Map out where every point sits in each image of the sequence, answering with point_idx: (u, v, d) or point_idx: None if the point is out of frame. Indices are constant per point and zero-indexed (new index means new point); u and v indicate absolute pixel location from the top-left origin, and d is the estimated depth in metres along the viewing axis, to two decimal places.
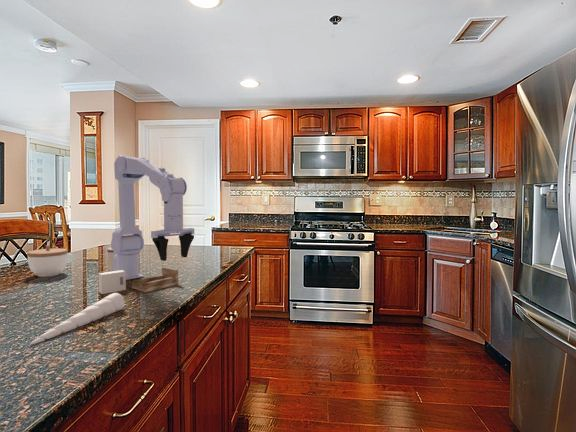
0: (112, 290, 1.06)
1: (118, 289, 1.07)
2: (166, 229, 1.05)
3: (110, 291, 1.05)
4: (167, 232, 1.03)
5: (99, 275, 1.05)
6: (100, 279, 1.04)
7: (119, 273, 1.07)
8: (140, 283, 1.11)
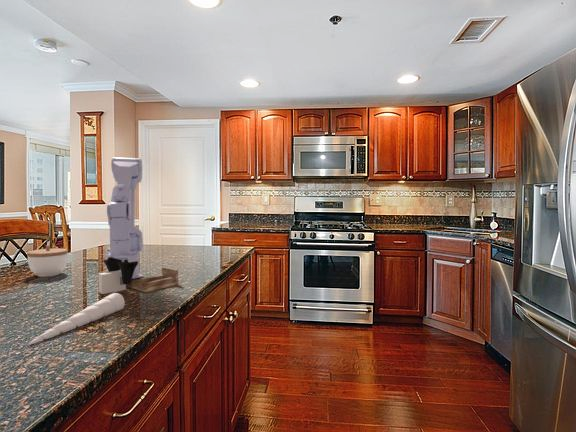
0: (112, 290, 1.06)
1: (118, 289, 1.07)
2: None
3: (110, 291, 1.05)
4: None
5: (99, 275, 1.05)
6: (100, 279, 1.04)
7: (119, 273, 1.07)
8: (140, 283, 1.11)
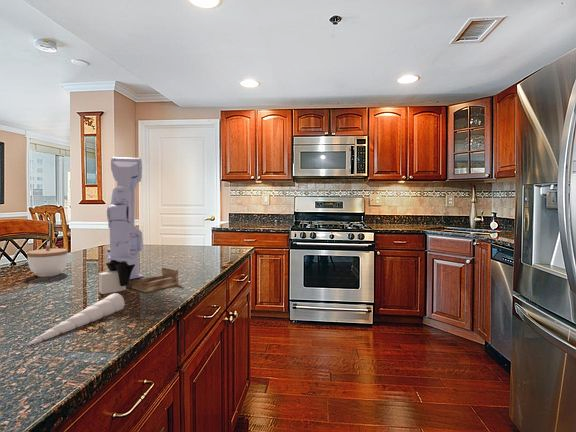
0: (112, 290, 1.05)
1: (118, 289, 1.07)
2: None
3: (110, 291, 1.05)
4: (108, 257, 1.09)
5: (99, 275, 1.04)
6: (100, 279, 1.04)
7: None
8: (140, 283, 1.11)
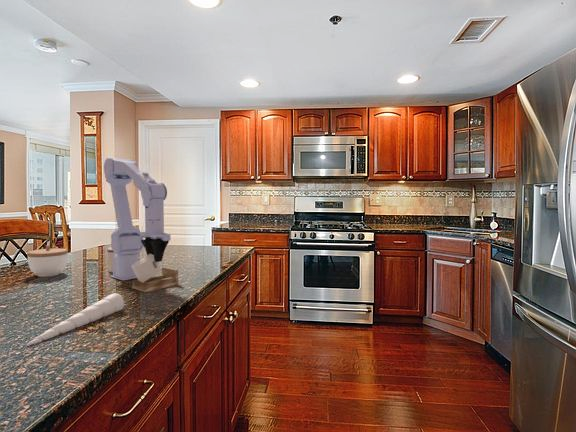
0: (150, 275, 1.10)
1: (155, 272, 1.11)
2: None
3: (149, 277, 1.10)
4: (143, 234, 1.13)
5: (133, 267, 1.07)
6: (135, 270, 1.07)
7: (150, 259, 1.09)
8: (140, 283, 1.11)
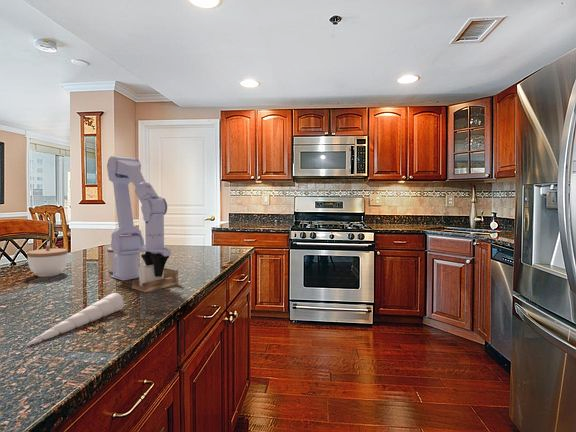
0: None
1: None
2: None
3: None
4: (143, 248, 1.13)
5: (140, 269, 1.09)
6: (142, 272, 1.09)
7: None
8: None
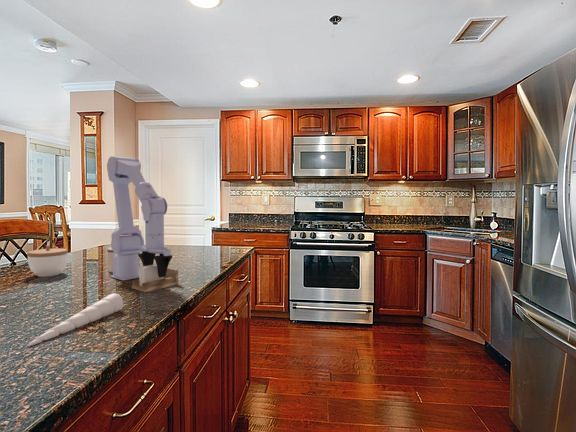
0: None
1: None
2: None
3: None
4: (143, 248, 1.13)
5: (140, 268, 1.09)
6: (142, 272, 1.09)
7: None
8: None
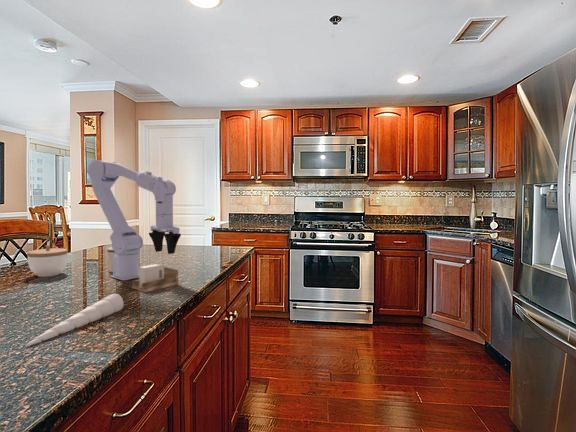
0: None
1: None
2: None
3: None
4: None
5: (140, 268, 1.09)
6: (142, 272, 1.09)
7: (158, 266, 1.12)
8: None
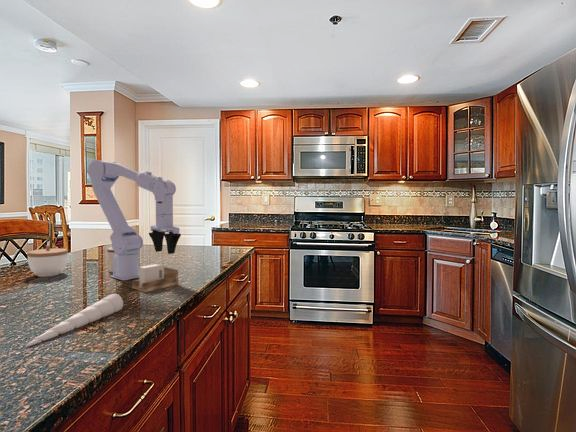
0: None
1: None
2: None
3: None
4: None
5: (140, 268, 1.09)
6: (142, 272, 1.09)
7: (158, 266, 1.12)
8: None
